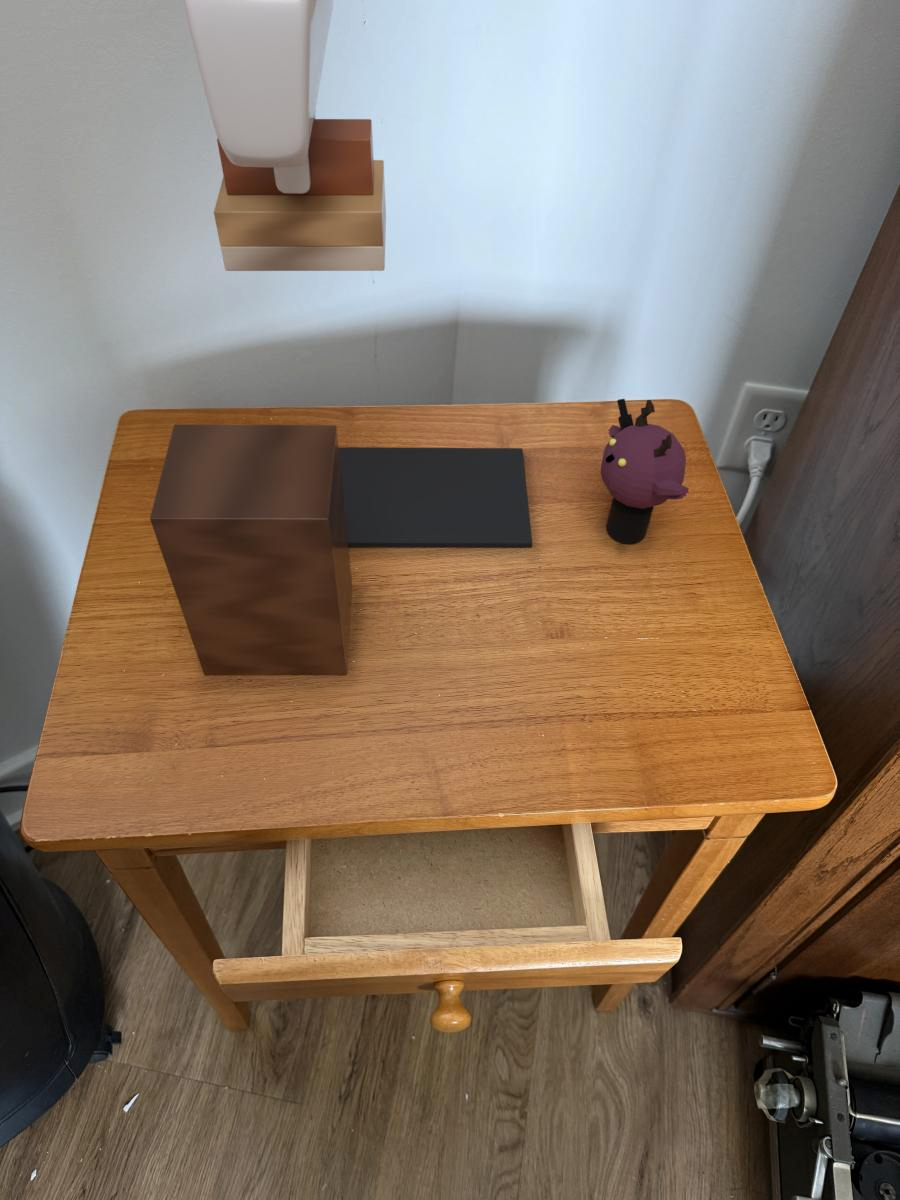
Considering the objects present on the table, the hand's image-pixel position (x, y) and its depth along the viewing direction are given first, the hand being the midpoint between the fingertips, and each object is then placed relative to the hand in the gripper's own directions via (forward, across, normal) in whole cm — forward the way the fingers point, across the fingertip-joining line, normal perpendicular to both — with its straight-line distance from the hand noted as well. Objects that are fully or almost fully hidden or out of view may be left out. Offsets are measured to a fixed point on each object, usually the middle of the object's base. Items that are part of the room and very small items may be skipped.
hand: (298, 169), depth 49 cm
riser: (+29, +10, -4) cm, 31 cm away
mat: (+29, -3, +5) cm, 29 cm away
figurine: (+29, 0, +23) cm, 37 cm away
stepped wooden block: (+4, 0, 0) cm, 4 cm away
